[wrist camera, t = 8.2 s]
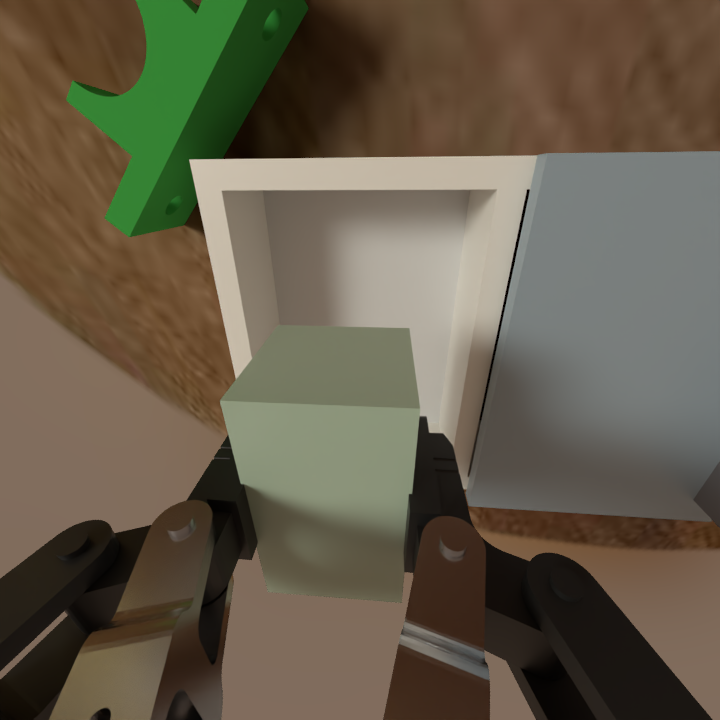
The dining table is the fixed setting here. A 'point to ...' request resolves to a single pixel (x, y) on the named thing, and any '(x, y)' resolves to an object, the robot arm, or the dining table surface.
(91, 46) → the dining table surface
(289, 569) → the pale green block
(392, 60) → the dining table surface
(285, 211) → the housing
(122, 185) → the pipe clamp
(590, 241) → the lid
